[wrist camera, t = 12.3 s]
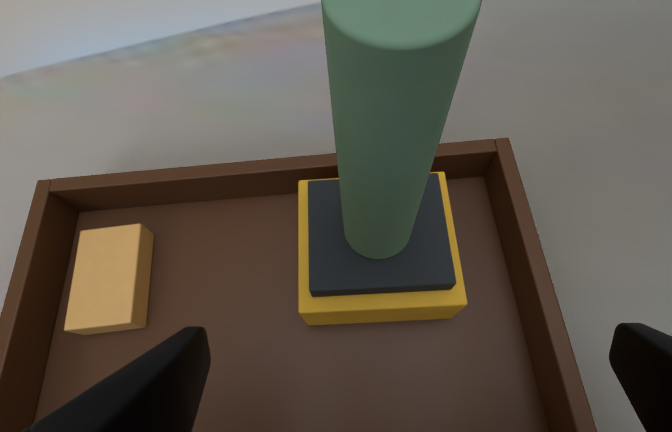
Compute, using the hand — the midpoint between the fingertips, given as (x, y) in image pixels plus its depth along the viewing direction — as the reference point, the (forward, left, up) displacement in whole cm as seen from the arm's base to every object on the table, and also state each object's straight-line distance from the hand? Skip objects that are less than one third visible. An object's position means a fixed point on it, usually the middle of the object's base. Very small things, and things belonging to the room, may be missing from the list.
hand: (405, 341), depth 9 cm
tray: (-2, +4, -7) cm, 8 cm away
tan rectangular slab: (-4, +10, -6) cm, 13 cm away
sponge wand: (+3, +3, -6) cm, 7 cm away
